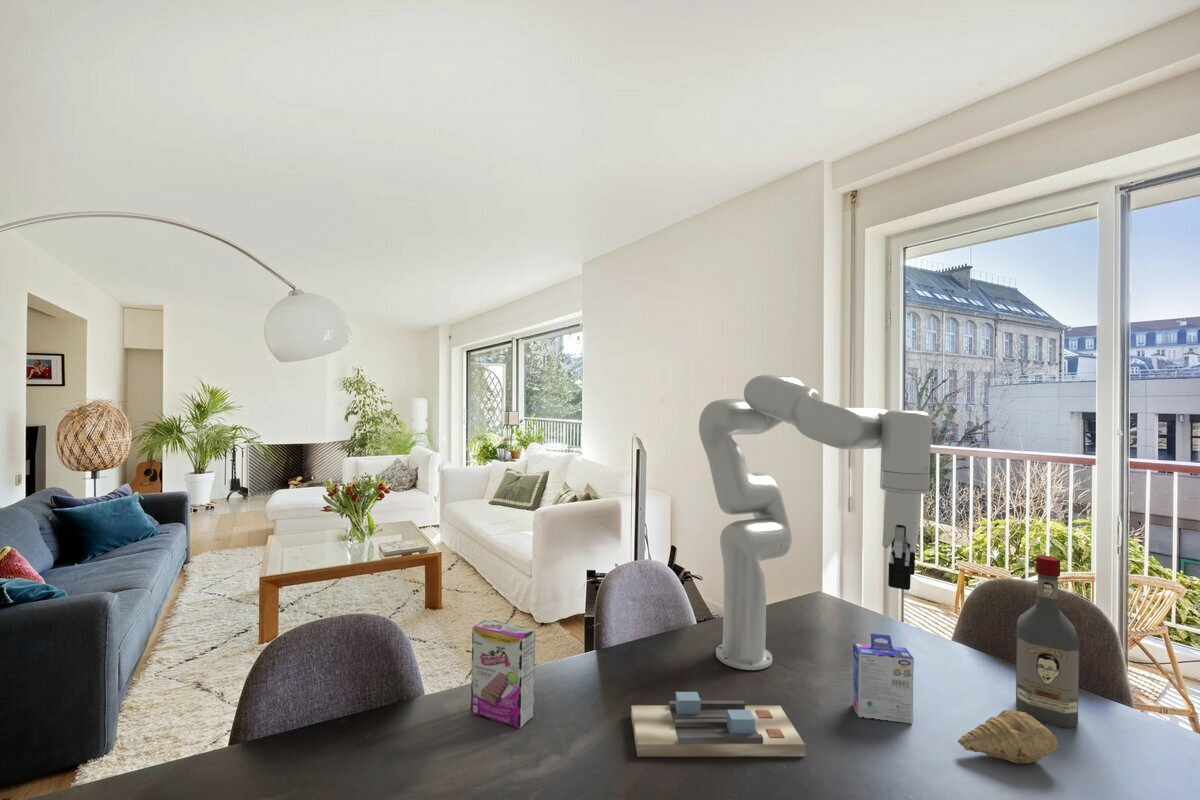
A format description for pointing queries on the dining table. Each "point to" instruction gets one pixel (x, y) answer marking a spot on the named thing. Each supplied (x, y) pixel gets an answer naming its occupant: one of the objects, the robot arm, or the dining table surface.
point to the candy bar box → (503, 672)
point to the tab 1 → (688, 703)
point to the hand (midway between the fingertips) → (901, 580)
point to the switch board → (712, 731)
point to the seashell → (1011, 738)
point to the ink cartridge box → (883, 681)
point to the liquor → (1047, 655)
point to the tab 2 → (740, 722)
